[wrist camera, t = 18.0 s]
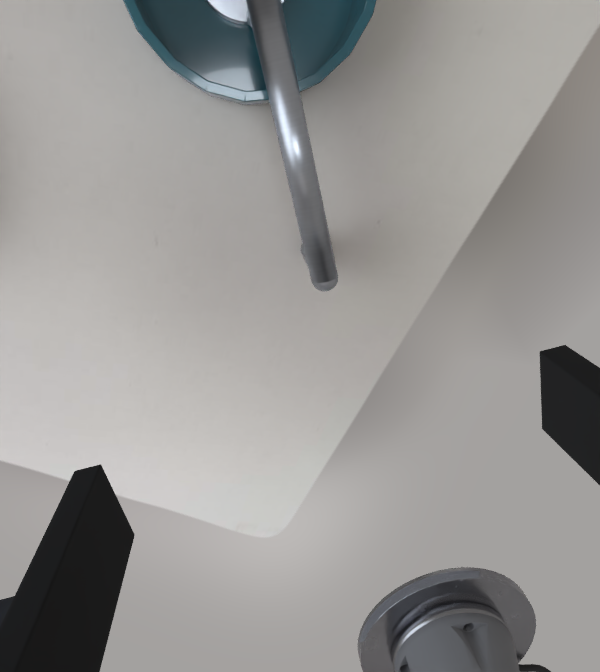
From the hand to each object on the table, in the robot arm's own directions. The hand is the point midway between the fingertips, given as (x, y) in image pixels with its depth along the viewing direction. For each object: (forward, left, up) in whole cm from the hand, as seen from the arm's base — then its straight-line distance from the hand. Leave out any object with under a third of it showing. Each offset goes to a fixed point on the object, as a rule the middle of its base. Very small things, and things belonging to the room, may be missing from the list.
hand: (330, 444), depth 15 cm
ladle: (+7, -7, -27) cm, 29 cm away
